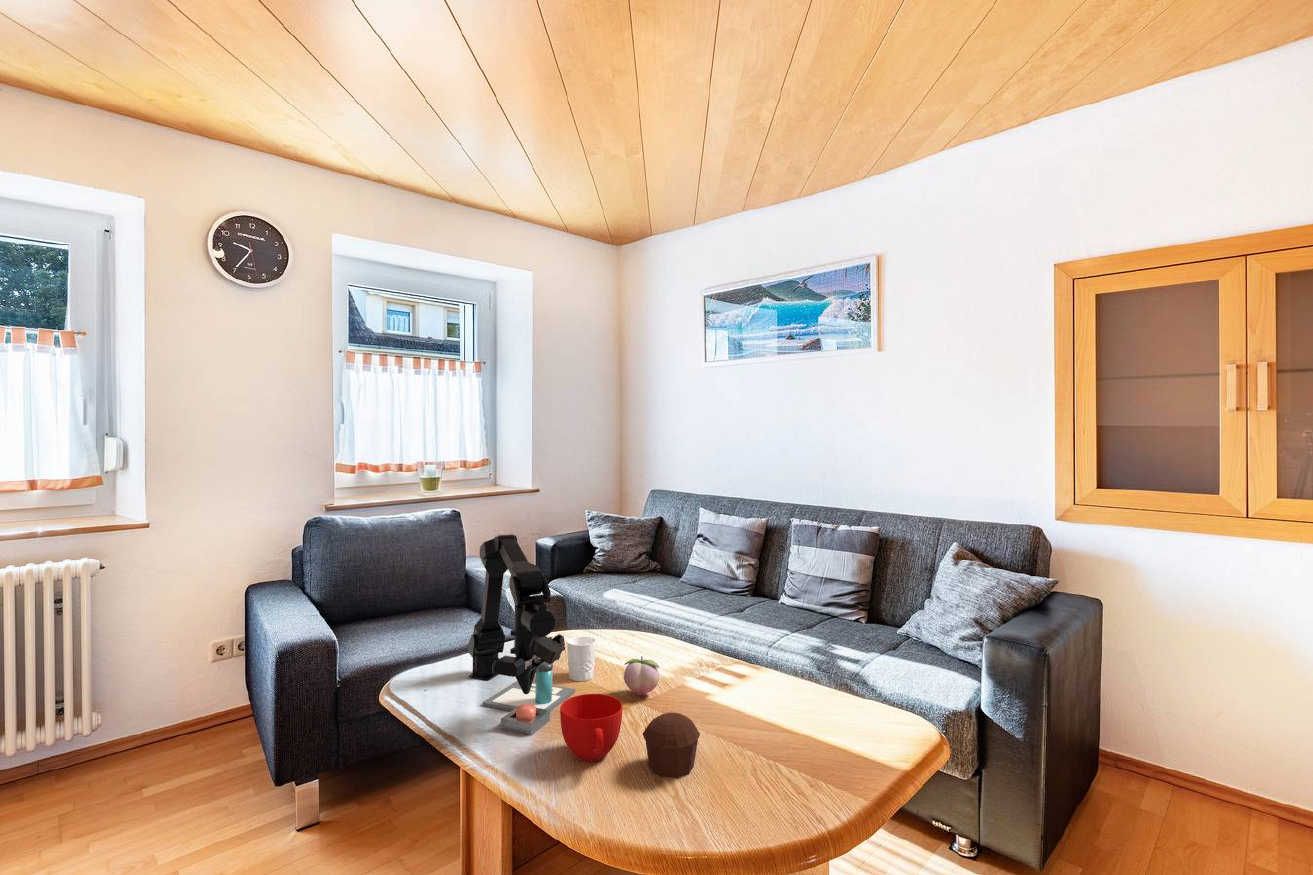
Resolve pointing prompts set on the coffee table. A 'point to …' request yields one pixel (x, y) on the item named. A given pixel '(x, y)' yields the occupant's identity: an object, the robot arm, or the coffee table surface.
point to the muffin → (671, 745)
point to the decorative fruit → (641, 675)
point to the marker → (544, 683)
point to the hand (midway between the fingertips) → (526, 693)
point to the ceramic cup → (591, 725)
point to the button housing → (525, 722)
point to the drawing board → (526, 697)
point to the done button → (526, 712)
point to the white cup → (581, 658)
